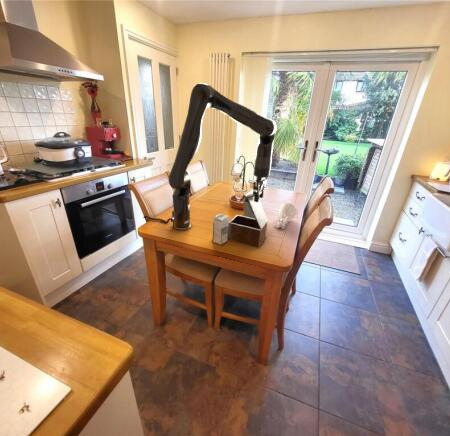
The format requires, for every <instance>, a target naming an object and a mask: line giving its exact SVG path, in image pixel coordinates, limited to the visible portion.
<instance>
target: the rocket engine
mask: <svg viewBox="0 0 450 436" xmlns="http://www.w3.org/2000/svg"><path fill="white" fill-rule="evenodd" d="M298 211H299V210H298V208H297V207H296V206H295V205H294V204H293V203H291V202H284V203H282V204H281V205H280V206H279V210H278V219H277V220H276V226H275V228H276V229H279V228H281V229H282V230H284V229H285V226H286V224H288V223H289V222H291V221H292V220H294V219H295V218H296V217H297V215H298V213H299V212H298Z"/></svg>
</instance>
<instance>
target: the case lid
mask: <svg viewBox="0 0 450 436" xmlns="http://www.w3.org/2000/svg"><path fill="white" fill-rule="evenodd" d="M261 193H262V190H261V191H260V194H261ZM254 196H255V194H253V189H252V190H250V191H249V192H248V193H247V194H246V195H245V198H247V201H248V203H249V205H250V208H251V210H252V213H253V215H254V217H255V220H256V222H257V224H258V227H259V229H260V230H261V229H262V228H263V226H264V225H265V224H266V223H267V224H268V221H269V219H268V217H267V214H266V213H265V210H264V208H263V207H264V206H263V205H262V202H261V200H260V199H259V202H254Z"/></svg>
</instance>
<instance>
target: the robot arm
mask: <svg viewBox="0 0 450 436" xmlns="http://www.w3.org/2000/svg"><path fill="white" fill-rule="evenodd" d="M190 93H191V94H190V97H189V103H188V109H187V114H186V118H185V122H184V125H183V128H182V132H181V135H180V139H179V143H178V148H177V151H176V154H175V159H174V161H173V165H172V167H171V169H170V172H169V174H168V184H169V187H170V188H172V189H173V190H174V192H173V193H172V196H171V197H172V212H171V217H169V218H168V219H167V220H164V219H162V218H155V217H151V216H149V215H144V216H143V217H142V218H143V219H148V220H152V221H160V222H163V223H165V224H168V223H169V222H171V223H172V227H173V228H174V229H175V230H178V231H185V230H188V229H190V228H191V226H192V225H191V203H190V201H191V199H190V195H191V193H192V180H191V179H192V178H191V175H190V173H189V171H188V167H189V166H190V164H191V162H192V160H193V159H194V157H195V155H196V154H197V152H198V149H199V146H200V143H201V140H202V124H203V118H204V116H205V112H206V110H207V108H210V109H214V110H216V111H219V112H221V113H222V114H225V115H226V116H227V117H229V118H230V119H231V120H233V121H234V122H236V123H238V124H240V125H242V126H244V127H246V128H248V129H250V130H251V131H253V132H254V133H256V134H257V135H258V136H259V140H258V143H257V146H256V153H255V159H254V167H253V176H254V177H256V180H255V181H254V182H253V186H252V190H253V194H255V196H254V202H259V200H260V198H261V199H263V198H264V192H265V189H266V188H267V182H268V178H269V177H270V175H271V168H272V159H273V158H272V156H273V151H274V150H273V149H274V141H275V137H276V132H277V123H276V122H275V120H273V119H271V118H266V117H264V116H262V115H260V114H258V112H256V111H254V110H252V108H251V109H250V108H249V107H247V106H245V105H242V104H240V103H238V102H236V101H234V100H232V99H230V98H228V97H226V96H225V95H223V94H222V93H220V92H219V91H218V90H216V89H215V88H214V87H213V86H212V85H210V84H207V83H202V82H199V83H196V84H195V85H194V86H193V87H192V89H191V92H190ZM261 190H262V193H261V194H260V191H261Z"/></svg>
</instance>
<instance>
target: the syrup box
mask: <svg viewBox="0 0 450 436" xmlns="http://www.w3.org/2000/svg"><path fill="white" fill-rule="evenodd" d="M229 221H230V217H229V215H226V214H224V213H219V214H216V215H214V216H213V217H212V242H214V243H216V244H217V245H220V246H221V245H223V244H225V243H226V242H228V240H229V239H228V224H229Z"/></svg>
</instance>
